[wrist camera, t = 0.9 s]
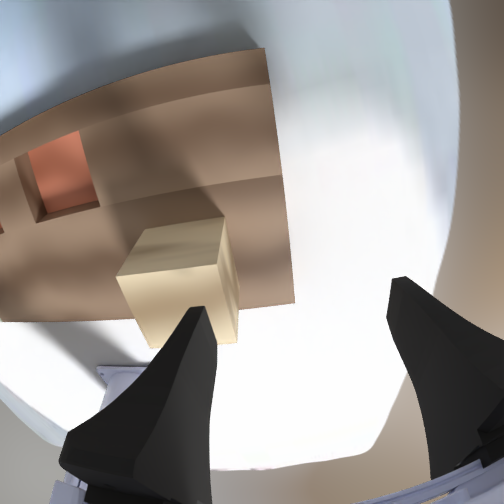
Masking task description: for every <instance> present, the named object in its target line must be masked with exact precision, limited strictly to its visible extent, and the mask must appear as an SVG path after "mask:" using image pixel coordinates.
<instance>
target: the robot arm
mask: <svg viewBox="0 0 504 504" xmlns="http://www.w3.org/2000/svg"><path fill="white" fill-rule="evenodd" d="M386 318H387V322H388V325H389V328H390V331H391V334H392V337H393V340H394V342H395V345H396V347H397V349H398V351H399V353H400V356H401V358H402V360H403V362H404V364H405V367H406V369H407V371H408V374H409V376H410V378H411V380H412V383H413V386H414V388H415V391H416V394H417V398H418V401H419V405H420V409H421V413H422V418H423V422H424V427H425V432H426V438H427V444H428V452H429V461H430V475H431V480H430V481H428V482H425V483H423V484H420V485H417V486H414V487H411V488H408V489H405V490H402V491H399V492H395V493H392V494H389V495H385V496H382V497H378V498H374V499H370V500H366V501H362V502H357V503H352V504H420V503H423V502H426V501H428V500H431V499H433V498H436V497H438V496H441V495H443V494H446V493H448V492H449V494H448V495H447V496H445V497H443V498H441V499H439V500H437V501H435V502H432V503H430V504H504V340H502V339H500V338H498V337H496V336H494V335H492V334H490V333H488V332H486V331H484V330H483V329H481V328H479V327H477V326H476V325H474V324H472V323H471V322H469V321H467V320H466V319H464V318H463V317H461V316H460V315H458V314H457V313H455V312H454V311H452V310H451V309H449V308H448V307H446V306H445V305H444V304H443V303H441V302H440V301H439V300H437V299H436V298H435V297H433V296H432V295H431V294H429V293H428V292H427V291H425V290H424V289H423V288H421V287H420V286H419V285H417V284H416V283H415V282H413V281H412V280H411V279H409V278H408V277H406V276H404V277H399V278H393V279H392V283H391V290H390V297H389V304H388V310H387V316H386ZM216 369H217V340H216V337H215V334H214V331H213V328H212V325H211V322H210V319H209V316H208V313H207V310H206V307H205V306H195V307H189V309H188V310H187V311H186V313H185V314H184V316H183V317H182V319H181V320H180V322H179V323H178V325H177V326H176V328H175V329H174V331H173V332H172V334H171V335H170V337H169V338H168V340H167V341H166V343H165V344H164V345H163V347H162V348H161V350H160V351H159V352H158V353H157V355H156V356H155V357H154V359H153V360H152V361H151V362H150V364H149V365H148V366H147V367H113V366H97V368H96V371H97V372H98V374H99V375H100V376H101V378H102V379H103V380H104V382H105V383H106V384H107V386H108V387H107V390H106V392H105V395H104V398H103V401H102V404H101V407H100V410H99V412H98V413H97V414H96V415H94V416H93V417H91V418H90V419H89V420H87V421H85V422H84V423H82V424H81V425H79V426H77V427H76V428H74V429H72V430H71V431H69V432H68V433H67V436H66V439H65V442H64V445H63V448H62V451H61V454H60V458H59V464H60V466H61V467H62V468H63V469H65V470H66V474H65V478H64V482H61V481H58V480H56V481H55V484H54V487H53V491H52V495H51V500H50V503H49V504H212V496H211V485H210V463H209V424H210V412H211V405H212V398H213V391H214V384H215V376H216Z"/></svg>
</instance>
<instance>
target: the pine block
mask: <svg viewBox="0 0 504 504" xmlns="http://www.w3.org/2000/svg"><path fill="white" fill-rule="evenodd" d="M116 279H117V281H118V283H119V285H120V288H121V290H122V292H123V294H124V296H125V299H126V301H127V303H128V305H129V307H130V309H131V311H132V313H133V315H134V318H135V320H136V322H137V324H138V326H139V328H140V330H141V331H142V333H143V335H144V337H145V339H146V341H147V343H148V345H149V347H150V348H162V347H163V345H164V344H165V343H166V341H167V340H168V338H169V337H170V335H171V334H172V332H173V331H174V329H175V328H176V326H177V325H178V323H179V322H180V320H181V319H182V317H183V316H184V314H185V313H186V311H187V310H188V309H189V307H195V306H205V307H206V310H207V313H208V316H209V319H210V322H211V325H212V328H213V331H214V334H215V337H216V340H217V345H220V344H232V343H237V334H238V310H239V287H240V286H239V281H238V277H237V272H236V267H235V263H234V258H233V253H232V248H231V243H230V239H229V234H228V229H227V224H226V219H225V217H218V218H212V219H205V220H199V221H192V222H186V223H180V224H173V225H167V226H161V227H155V228H149V229H145V230H144V231H143V233H142V234H141V236H140V238H139V239H138V241H137V242H136V244H135V246H134V247H133V249H132V250H131V252H130V254H129V255H128V257H127V258H126V260H125V262H124V263H123V265H122V267H121V268H120V270H119V272H118V273H117V275H116Z"/></svg>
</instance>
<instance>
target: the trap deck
mask: <svg viewBox="0 0 504 504" xmlns="http://www.w3.org/2000/svg"><path fill="white" fill-rule="evenodd" d="M218 217H225V219H226V224H227V229H228V234H229V239H230V243H231V248H232V253H233V258H234V263H235V267H236V272H237V277H238V281H239V286H240V287H239V310H242V309H251V308H259V307H268V306H276V305H284V304H291V303H295V296H294V284H293V273H292V262H291V251H290V241H289V231H288V221H287V212H286V203H285V194H284V185H283V177H282V168H281V160H280V152H279V145H278V137H277V129H276V122H275V115H274V108H273V101H272V94H271V87H270V81H269V74H268V68H267V61H266V55H265V49H264V48H258V49H250V50H243V51H236V52H230V53H224V54H218V55H213V56H208V57H203V58H198V59H193V60H189V61H185V62H180V63H176V64H172V65H168V66H165V67H161V68H157V69H154V70H150V71H147V72H143V73H140V74H137V75H134V76H131V77H128V78H125V79H122V80H119V81H116V82H113V83H110V84H107V85H105V86H102V87H99V88H97V89H94V90H92V91H89V92H87V93H84V94H82V95H79V96H77V97H75V98H72V99H70V100H68V101H66V102H63V103H61V104H59V105H57V106H55V107H53V108H51V109H49V110H47V111H44V112H42V113H40V114H39V115H37V116H35V117H33V118H31V119H29V120H27V121H25V122H23V123H22V124H20V125H18V126H16V127H14V128H13V129H11V130H9V131H8V132H6V133H4V134H2V135H1V136H0V322H68V321H98V320H119V319H135V318H134V315H133V313H132V311H131V309H130V307H129V305H128V303H127V301H126V299H125V296H124V294H123V292H122V290H121V288H120V285H119V283H118V281H117V279H116V275H117V273H118V272H119V270H120V268H121V267H122V265H123V263H124V262H125V260H126V258H127V257H128V255H129V254H130V252H131V250H132V249H133V247H134V246H135V244H136V242H137V241H138V239H139V238H140V236H141V234H142V233H143V231H144V230H145V229H149V228H155V227H161V226H167V225H173V224H180V223H186V222H192V221H199V220H205V219H212V218H218Z"/></svg>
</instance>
